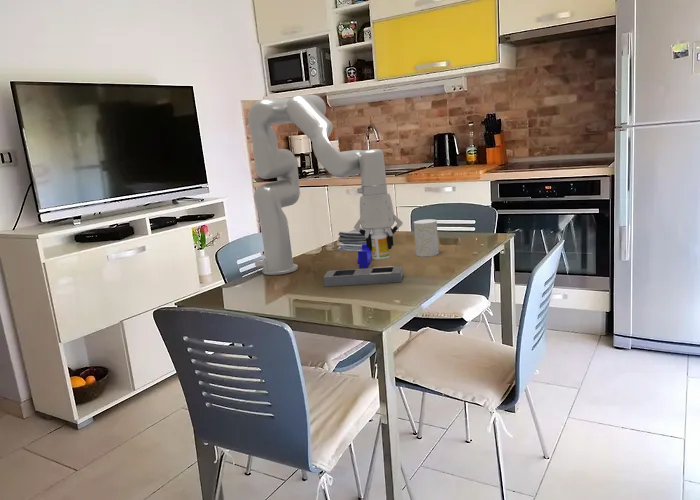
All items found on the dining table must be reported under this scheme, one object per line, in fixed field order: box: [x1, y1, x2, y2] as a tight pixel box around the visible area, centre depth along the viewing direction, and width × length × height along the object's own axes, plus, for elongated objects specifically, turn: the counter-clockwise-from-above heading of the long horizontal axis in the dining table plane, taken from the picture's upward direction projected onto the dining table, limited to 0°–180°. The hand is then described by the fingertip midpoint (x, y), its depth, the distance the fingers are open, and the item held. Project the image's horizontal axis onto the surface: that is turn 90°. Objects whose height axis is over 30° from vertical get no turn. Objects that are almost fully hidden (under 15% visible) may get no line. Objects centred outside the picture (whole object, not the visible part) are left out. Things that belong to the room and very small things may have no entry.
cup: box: [413, 218, 440, 258], centre depth 208 cm, size 8×8×12 cm
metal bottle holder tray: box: [322, 265, 404, 288], centre depth 181 cm, size 24×8×3 cm, turn 81°
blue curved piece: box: [356, 244, 373, 269], centre depth 204 cm, size 12×4×6 cm, turn 171°
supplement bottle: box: [371, 228, 391, 260], centre depth 178 cm, size 5×5×10 cm
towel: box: [337, 228, 388, 252], centre depth 232 cm, size 15×18×8 cm
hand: (380, 248), depth 178 cm, fingers closed on supplement bottle, 5 cm apart
